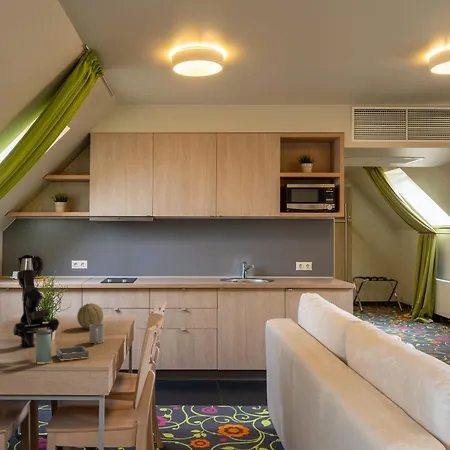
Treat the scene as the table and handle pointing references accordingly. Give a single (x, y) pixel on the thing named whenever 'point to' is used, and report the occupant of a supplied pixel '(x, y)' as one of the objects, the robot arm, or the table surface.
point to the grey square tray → (79, 353)
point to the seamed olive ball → (89, 315)
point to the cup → (96, 333)
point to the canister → (43, 345)
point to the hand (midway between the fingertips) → (40, 342)
